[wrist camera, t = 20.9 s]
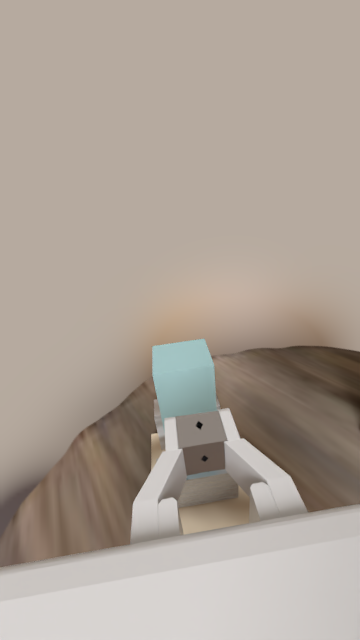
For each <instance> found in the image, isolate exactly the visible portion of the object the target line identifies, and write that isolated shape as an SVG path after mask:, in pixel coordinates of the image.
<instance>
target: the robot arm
mask: <svg viewBox="0 0 360 640" xmlns="http://www.w3.org/2000/svg"><path fill="white" fill-rule="evenodd" d="M164 430H165V449H166V451H164V452H162V453H161V455H160V457H159V458H158V460H157V462H156V464H155V465H154V467H153V469H152V471H151V473H150V474H149V476H148V478H147V480H146V481H145V483H144V485H143V487H142V488H141V490H140V492H139V494H138V495H137V497H136V499H135V501H134V502H133V512H132V527H131V542H130V544H129V545H124V546H118V547H112V548H107V549H101V550H95V551H90V552H84V553H79V554H73V555H67V556H62V557H56V558H51V559H45V560H39V561H34V562H28V563H22V564H17V565H11V566H6V567H0V640H360V504H354V505H349V506H343V507H338V508H332V509H326V510H321V511H315V512H309V513H308V511H307V509H306V507H305V505H304V503H303V501H302V499H301V497H300V495H299V493H298V491H297V489H296V486H295V484H294V482H293V480H292V478H291V476H289V475H288V474H287V473H286V472H285V471H283V470H282V469H281V468H280V467H278V466H277V465H276V464H275V463H273V462H272V461H271V460H270V459H269V458H267V457H266V456H265V455H264V454H262V453H261V452H260V451H259V450H258V449H256V448H255V447H254V446H253V445H251V444H250V443H249V442H248V441H246V440H245V439H244V438H243V439H240V436H239V433H238V430H237V428H236V425H235V422H234V419H233V417H232V414H231V411H230V409H229V408H226V409H220V410H213V411H207V412H201V413H197V414H190V415H183V416H176V417H169V418H164ZM223 469H226V471H227V472H228V474H229V475H230V476H231V477H232V478H233V479H234V480H235V482H236V483H237V484H238V485H239V486H240V487H241V488H242V490H243V491H244V492H245V493H246V494H247V495H248V496H249V498H250V507H249V523H247V524H241V525H236V526H230V527H225V528H219V529H213V530H208V531H202V532H196V533H191V534H185V535H184V533H183V528H182V523H181V518H180V514H179V509H178V504H177V502H178V500H179V497H180V494H181V492H182V489H183V487H184V484H185V481H186V479H187V476H188V475H193V474H198V473H203V472H209V471H216V470H223Z"/></svg>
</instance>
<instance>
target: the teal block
mask: <svg viewBox="0 0 360 640" xmlns="http://www.w3.org/2000/svg"><path fill="white" fill-rule="evenodd" d="M153 379H154V384H155V389H156V394H157V399H158V403H159V408H160V413H161V418H162V423H163V428H164V418H169V417H176V416H183V415H190V414H197V413H201V412H207V411H213V410H217V407H216V389H215V372H214V364H213V361H212V358H211V355H210V353H209V350H208V347H207V344H206V342H205V339H199V340H192V341H185V342H178V343H172V344H165V345H158V346H153ZM164 433H165V430H164Z"/></svg>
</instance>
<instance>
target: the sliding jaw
mask: <svg viewBox="0 0 360 640" xmlns="http://www.w3.org/2000/svg"><path fill="white" fill-rule="evenodd" d="M157 460H158V459H156V462H157ZM233 498H238V484H237V483H236V482H235V480H234V479H233V478H232V477H231V476H230V475H229V474H228V472H227V471H226V469H223V470H216V471H209V472H203V473H198V474H193V475H188V476H187V479H186V481H185V484H184V487H183V489H182V492H181V494H180V497H179V500H178V502H177V504H178V508H181V507H187V506H192V505H198V504H204V503H210V502H215V501H221V500H227V499H233Z"/></svg>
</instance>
